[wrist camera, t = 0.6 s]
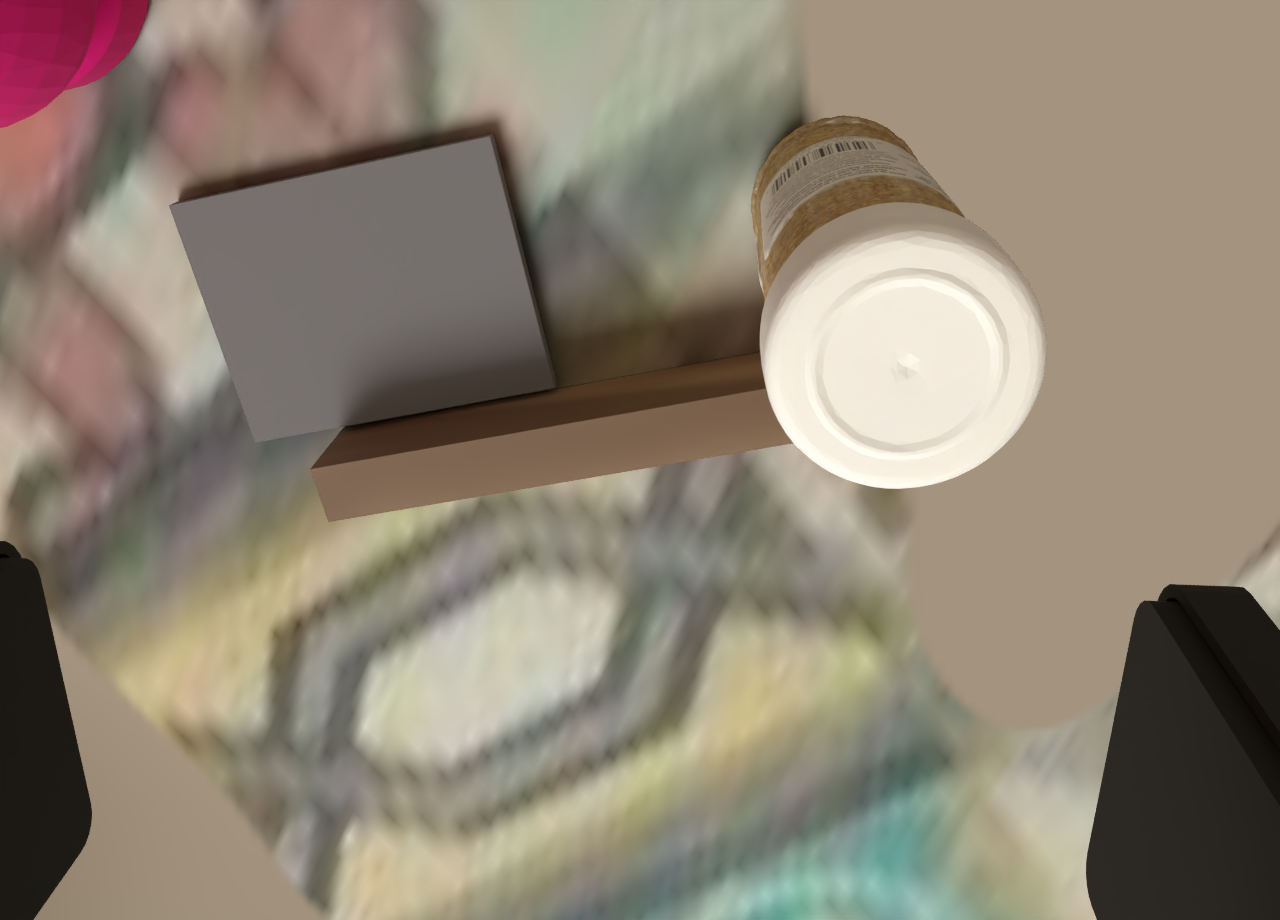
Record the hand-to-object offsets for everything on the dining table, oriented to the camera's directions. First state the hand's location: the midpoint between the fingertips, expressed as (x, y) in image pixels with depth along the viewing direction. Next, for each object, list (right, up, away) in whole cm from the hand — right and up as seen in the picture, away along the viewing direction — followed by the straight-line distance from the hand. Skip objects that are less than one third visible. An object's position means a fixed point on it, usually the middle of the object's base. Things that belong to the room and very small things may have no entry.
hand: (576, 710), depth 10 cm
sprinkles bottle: (+6, +9, +21) cm, 24 cm away
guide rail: (0, +4, +24) cm, 24 cm away
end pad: (-7, +7, +23) cm, 25 cm away
